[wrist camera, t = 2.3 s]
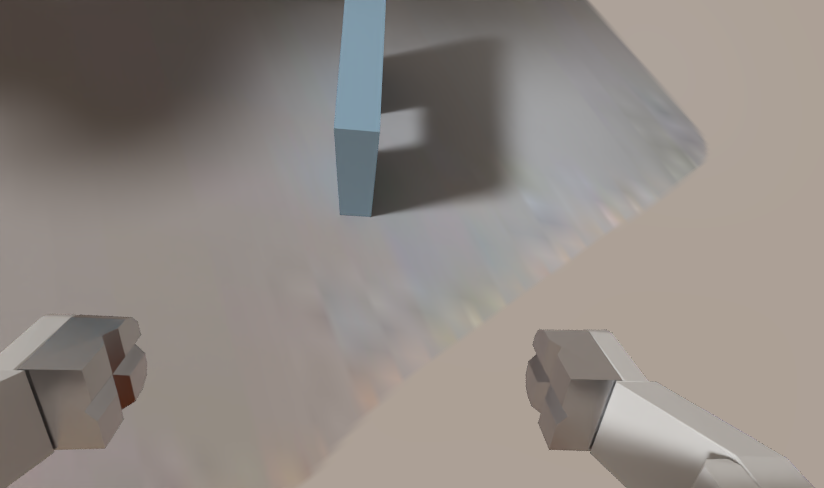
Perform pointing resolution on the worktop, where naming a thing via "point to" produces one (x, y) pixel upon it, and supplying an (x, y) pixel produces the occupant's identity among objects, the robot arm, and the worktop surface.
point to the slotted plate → (359, 104)
